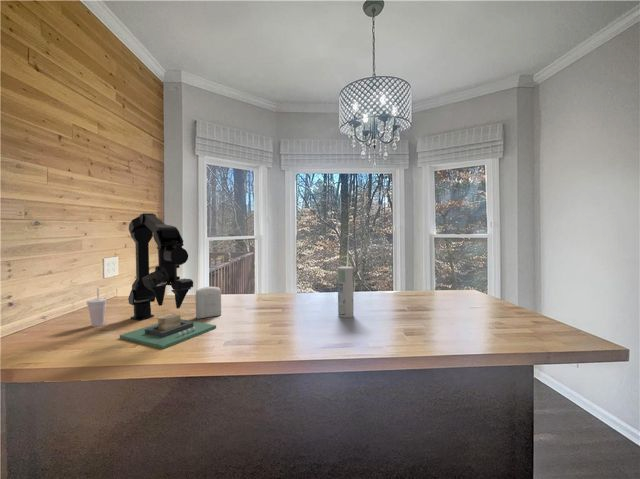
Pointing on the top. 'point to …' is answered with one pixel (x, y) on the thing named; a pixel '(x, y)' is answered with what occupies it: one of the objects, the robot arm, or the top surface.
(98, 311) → the smoothie
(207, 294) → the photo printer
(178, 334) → the socket board
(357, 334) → the top surface
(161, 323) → the plug
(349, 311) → the spray can
